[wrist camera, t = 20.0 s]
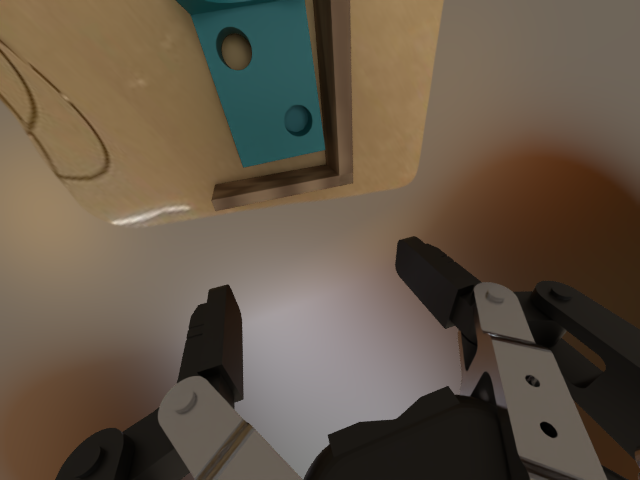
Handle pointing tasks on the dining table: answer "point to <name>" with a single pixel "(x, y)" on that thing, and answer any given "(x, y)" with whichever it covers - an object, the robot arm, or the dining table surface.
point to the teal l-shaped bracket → (263, 76)
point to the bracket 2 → (335, 112)
